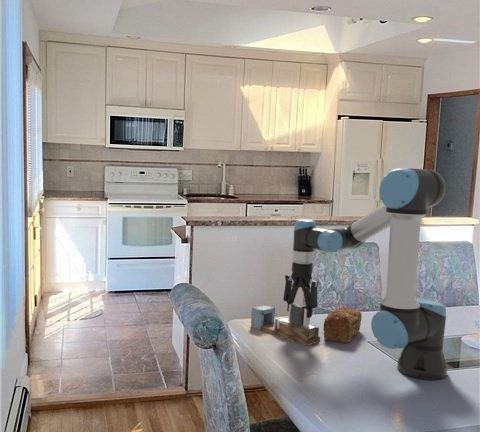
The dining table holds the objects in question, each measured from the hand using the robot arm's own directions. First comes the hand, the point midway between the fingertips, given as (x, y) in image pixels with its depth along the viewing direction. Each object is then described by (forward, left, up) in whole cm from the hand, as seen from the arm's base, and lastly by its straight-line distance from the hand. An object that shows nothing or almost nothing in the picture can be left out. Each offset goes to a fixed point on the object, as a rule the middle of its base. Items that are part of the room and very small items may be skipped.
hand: (298, 323), depth 207 cm
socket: (+16, +7, -6) cm, 18 cm away
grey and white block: (+2, +1, -4) cm, 4 cm away
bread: (-1, -18, -6) cm, 19 cm away
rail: (+6, +3, -6) cm, 9 cm away
